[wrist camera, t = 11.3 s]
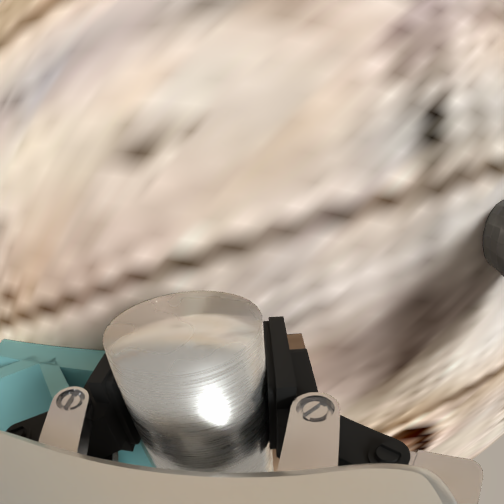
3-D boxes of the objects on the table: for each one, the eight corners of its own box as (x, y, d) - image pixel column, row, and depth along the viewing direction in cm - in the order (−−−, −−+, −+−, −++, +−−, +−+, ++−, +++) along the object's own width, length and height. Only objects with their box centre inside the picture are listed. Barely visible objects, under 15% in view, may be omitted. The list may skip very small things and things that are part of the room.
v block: (165, 463, 20) (152, 525, 14) (62, 445, 20) (39, 493, 14) (121, 351, 16) (80, 428, 10) (3, 339, 16) (-43, 388, 10)
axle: (271, 480, 14) (282, 544, 9) (192, 486, 13) (190, 549, 9) (254, 285, 10) (273, 363, 6) (127, 296, 10) (78, 372, 6)
